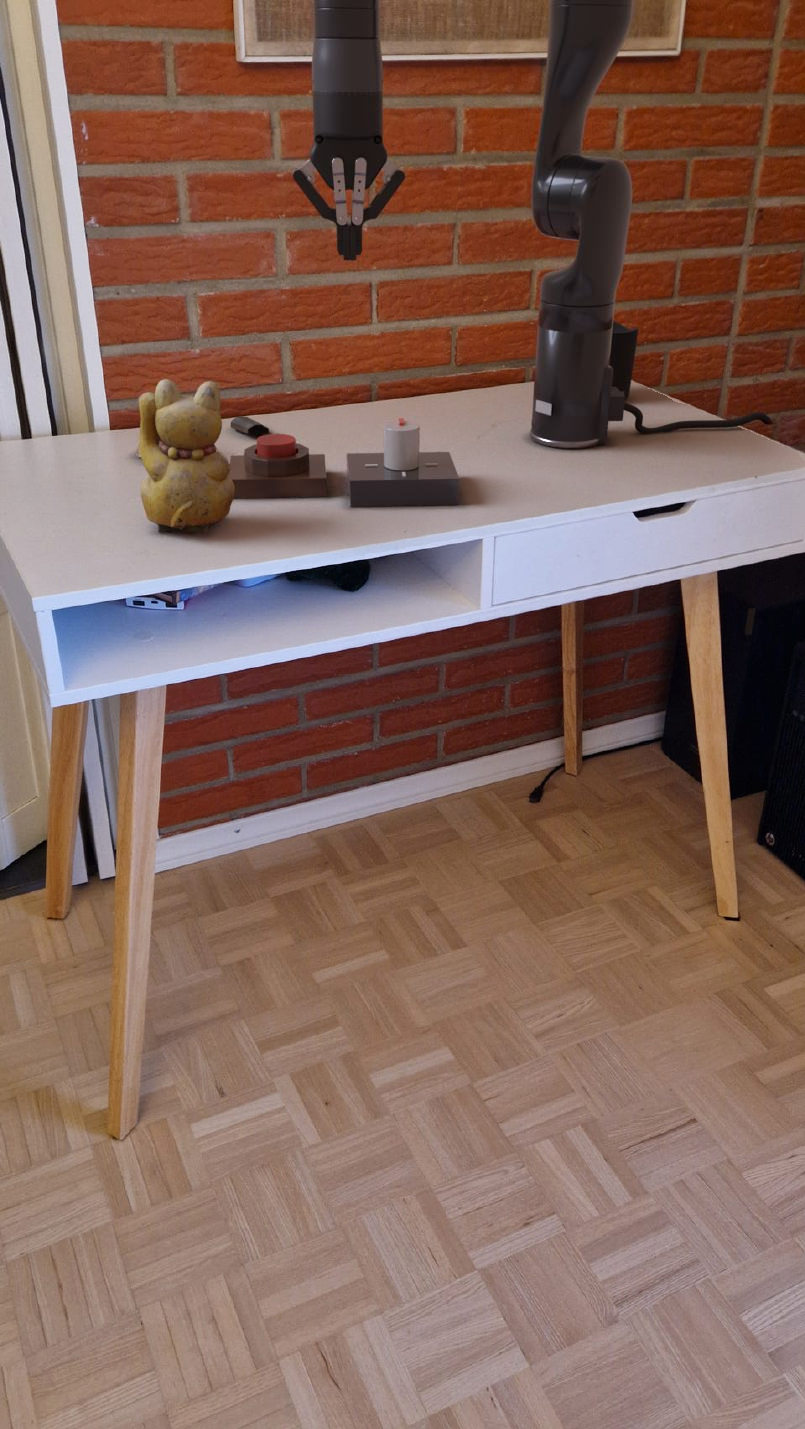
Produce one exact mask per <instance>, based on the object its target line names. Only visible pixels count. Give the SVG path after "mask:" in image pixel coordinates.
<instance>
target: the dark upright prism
mask: <svg viewBox="0 0 805 1429" xmlns="http://www.w3.org/2000/svg"><path fill="white" fill-rule="evenodd" d="M639 328H640V327H634V328H631V329H630V328H627V327H626V326H624V325H622V324H621V323H619V322H617V321H615V320H613V329H612V340H611V350H610V362H609V365H610V366H611V367H612V368H613V379H612V387H616V388H617V389H618V390H619V391H620V392H621V393H622V394H623V395H624V396H625V401H626V400H627V399H628V398H629V396H630V392H631V385H632V379H633V372H634V364H635V357H636V349H637V344H638V336H639V330H640V329H639Z"/></svg>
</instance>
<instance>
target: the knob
mask: <svg viewBox="0 0 805 1429" xmlns="http://www.w3.org/2000/svg"><path fill="white" fill-rule="evenodd" d="M420 431H421V426H420V424H419V423H418V422H414V421H409V420H405V418H404V417H399V418H398V420H394V421H393V420H392V421H388V422H386V423H384V424H383V453H384V466H385V467H386V468H388V469H391V470H399V471H405V470H412V469H416V468H418V467H419V452H420V445H421V444H420V442H421V440H420V438H421V436H420V435H421V432H420Z"/></svg>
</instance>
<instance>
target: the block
mask: <svg viewBox="0 0 805 1429" xmlns="http://www.w3.org/2000/svg"><path fill="white" fill-rule="evenodd" d="M230 428H231V429H234V430H236V431H238V432H242V433H244V434H246V435H268V434H269V433H270V429H269V427H267V426H265V425H264V424H261V423H260V422H258V421H256V420H255V419H252V418H250V417H248V416H242V415H240V416H236V417H234V418H233V419H232V420H231V421H230Z"/></svg>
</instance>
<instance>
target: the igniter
mask: <svg viewBox="0 0 805 1429" xmlns="http://www.w3.org/2000/svg"><path fill="white" fill-rule="evenodd" d="M229 458H230V459H229V464H230V467H231V468H230V472H229V474H228V476H229V477H230V478H231V479H232V481H233V483H234V489H235V491H234V498H233V499H277V498H279V499H280V498H327V496H328V488H327V486H328V485H327V469H326V467H327V466H326V454H323V453H313V454H312V453H311V454H310V448H309V447H307V446H305V445H303V444H301V443H297V442H296V454H295V455H293V456H288V457H283V458H269V457H263V456H259V455H257V443H255V444H252V445H250V446H249V447H247V448H244V451H243V455H242V454H241V455H239V454H238V455H230V457H229Z"/></svg>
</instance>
